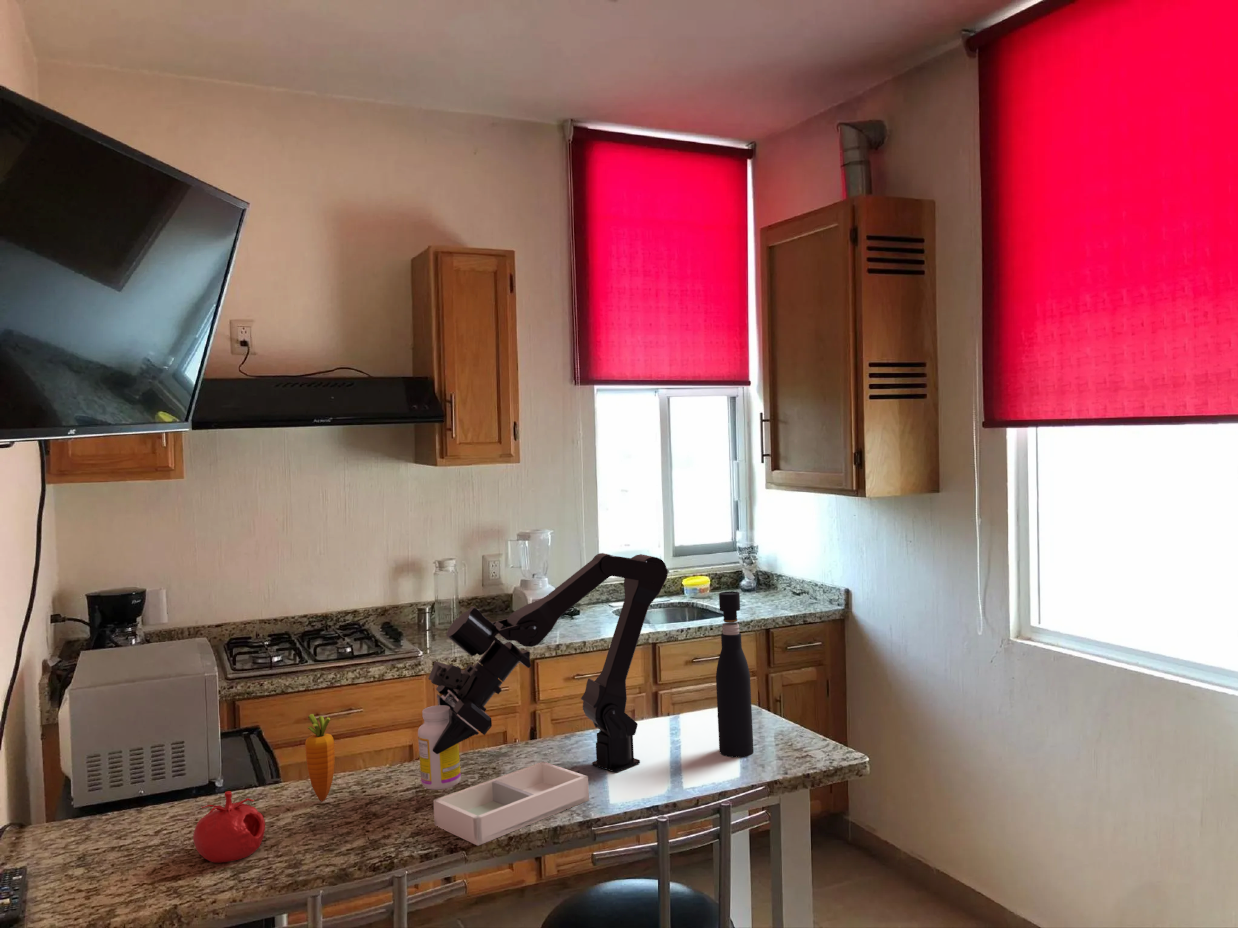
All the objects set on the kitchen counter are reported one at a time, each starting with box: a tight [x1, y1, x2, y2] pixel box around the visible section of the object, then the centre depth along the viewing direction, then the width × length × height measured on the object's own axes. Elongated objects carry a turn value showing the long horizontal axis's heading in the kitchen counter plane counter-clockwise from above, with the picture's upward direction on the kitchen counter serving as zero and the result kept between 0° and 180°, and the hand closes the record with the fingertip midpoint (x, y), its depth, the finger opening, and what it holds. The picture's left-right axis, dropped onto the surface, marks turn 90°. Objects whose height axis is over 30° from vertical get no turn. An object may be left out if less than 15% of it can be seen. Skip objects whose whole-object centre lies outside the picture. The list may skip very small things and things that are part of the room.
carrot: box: [304, 713, 336, 802], centre depth 155 cm, size 5×5×15 cm
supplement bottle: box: [417, 704, 462, 791], centre depth 154 cm, size 7×7×13 cm
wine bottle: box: [715, 591, 754, 758], centre depth 171 cm, size 6×6×30 cm
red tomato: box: [192, 790, 266, 864], centre depth 136 cm, size 10×10×9 cm
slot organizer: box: [433, 761, 590, 847], centre depth 146 cm, size 22×12×4 cm, turn 134°
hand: (430, 746), depth 154 cm, fingers closed on supplement bottle, 7 cm apart
